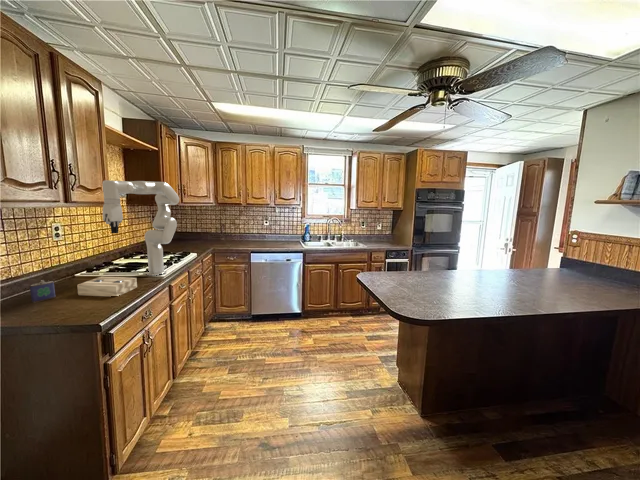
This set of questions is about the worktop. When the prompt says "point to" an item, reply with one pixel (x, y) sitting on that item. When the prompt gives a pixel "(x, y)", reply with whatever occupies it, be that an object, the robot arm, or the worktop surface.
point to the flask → (42, 291)
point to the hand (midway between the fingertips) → (114, 233)
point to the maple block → (107, 286)
